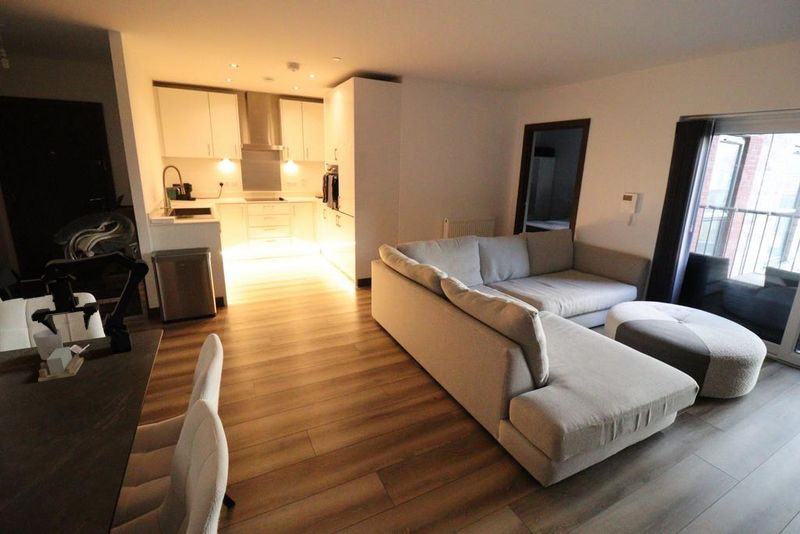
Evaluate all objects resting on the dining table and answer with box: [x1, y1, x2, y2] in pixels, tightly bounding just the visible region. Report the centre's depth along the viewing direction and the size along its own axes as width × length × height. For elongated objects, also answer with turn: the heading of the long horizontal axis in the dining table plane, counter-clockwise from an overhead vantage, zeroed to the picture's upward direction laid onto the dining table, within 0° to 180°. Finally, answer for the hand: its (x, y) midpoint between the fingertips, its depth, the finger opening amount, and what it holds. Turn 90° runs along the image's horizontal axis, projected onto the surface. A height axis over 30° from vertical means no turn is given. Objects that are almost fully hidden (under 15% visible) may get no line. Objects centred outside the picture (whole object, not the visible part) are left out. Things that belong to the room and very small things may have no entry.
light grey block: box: [46, 346, 73, 375], centre depth 137 cm, size 4×9×6 cm, turn 26°
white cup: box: [32, 328, 64, 361], centre depth 147 cm, size 8×8×10 cm
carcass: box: [37, 352, 85, 383], centre depth 137 cm, size 10×12×6 cm
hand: (72, 331), depth 143 cm, fingers open, 9 cm apart
